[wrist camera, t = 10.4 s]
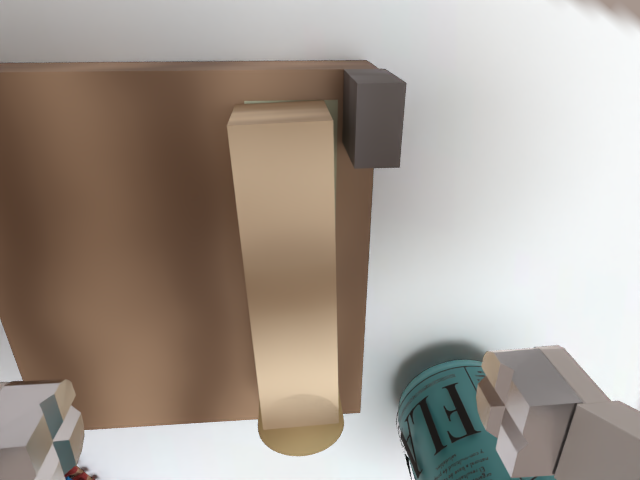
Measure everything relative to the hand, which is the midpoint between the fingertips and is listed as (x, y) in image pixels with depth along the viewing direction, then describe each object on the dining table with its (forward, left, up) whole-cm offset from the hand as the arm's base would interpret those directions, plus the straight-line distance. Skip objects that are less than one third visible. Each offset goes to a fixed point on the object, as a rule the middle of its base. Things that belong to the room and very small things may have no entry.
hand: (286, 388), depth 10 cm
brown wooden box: (-4, -3, -12) cm, 13 cm away
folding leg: (0, -3, -9) cm, 10 cm away
